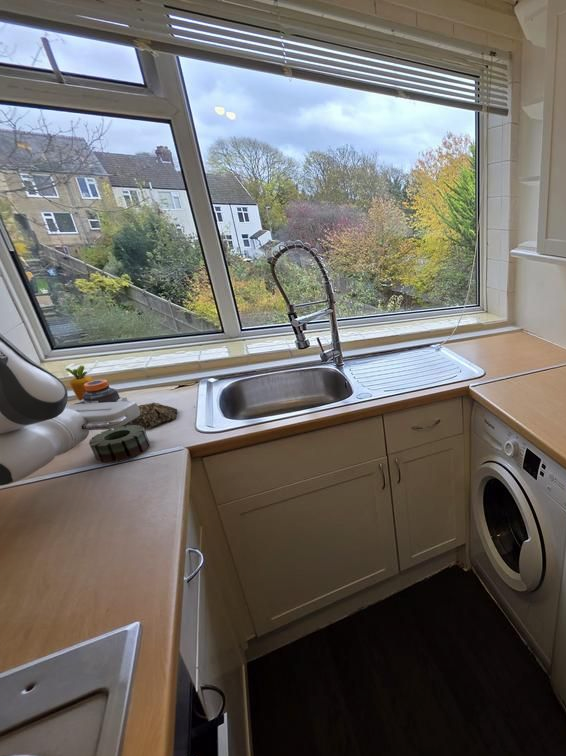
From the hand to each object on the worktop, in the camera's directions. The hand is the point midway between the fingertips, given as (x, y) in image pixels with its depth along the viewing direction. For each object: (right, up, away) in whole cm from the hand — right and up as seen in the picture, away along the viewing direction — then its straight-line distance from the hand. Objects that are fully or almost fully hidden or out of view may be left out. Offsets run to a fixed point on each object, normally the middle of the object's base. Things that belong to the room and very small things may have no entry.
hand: (106, 400), depth 97 cm
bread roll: (-7, -6, +20) cm, 22 cm away
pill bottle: (0, -6, +2) cm, 6 cm away
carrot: (-26, -5, +22) cm, 34 cm away
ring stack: (0, -13, +5) cm, 14 cm away
